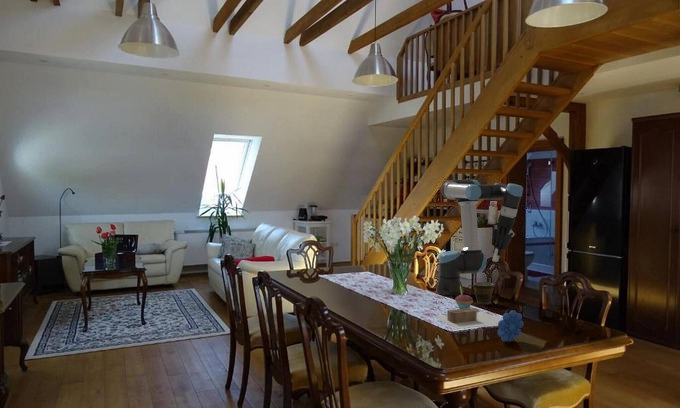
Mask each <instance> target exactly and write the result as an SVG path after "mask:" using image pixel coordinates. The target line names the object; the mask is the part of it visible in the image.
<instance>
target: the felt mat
mask: <svg viewBox="0 0 680 408" xmlns="http://www.w3.org/2000/svg"><path fill="white" fill-rule="evenodd" d="M434 318H435V319H437V320H439V321H441V322H443V323H445V324H446V325H449V326H451V327H453V328H455V329H457V330H459V329H466V328H476V327H483V326H486V327H487V326H491V325H492V326H495V325H498V323H499V321H501V320H503V318H502V319H501V318H499V317H496V316H494V315H491V314H489V313H486V312H484V311H477V321H470V322H461V323H452V322H450V321H448V320H447V315H446V314H445V315H441V316H440V315H439V316H434Z"/></svg>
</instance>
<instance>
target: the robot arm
mask: <svg viewBox="0 0 680 408" xmlns="http://www.w3.org/2000/svg"><path fill="white" fill-rule="evenodd" d="M523 191H524V187H523V186H522V185H519V184H516V183H508V184H507V185H506V184H505V183H501V182H496V183H494V184H481V183H480V182H479V180H477V179H468V178H467V179H450V180H447V181H444V183H442V185H441V188H440V192H441V195H442V196H443V198H445V199H447V200H455V201H457V204H458V205H459V206H460V214H461V215H460V216H461V217H460V218H461V231H462V248H461V249H460V251H459V250H449V251H443V252H441V253H440V254H439V255H438V281H437V284H436V288H435V293H436V294H438V295H442V296H459V295H461V291H460V286H461V289H462V295H464V287H463V283H462V282H461V275H464V274H480V273H482V272H484V270H486V267H487V263H488V262H487V256H486V254H485V253H484V252H482V251H483V250H482V248H480V247H479V246H480V245H479V231H478V229H479V228H478V217H477V215H478V214H477V204H478V203H479V200H482V201H483V200H484V201H485V200H487V201H489V200H490V201H491V200H501V201H502V204H501V209H500V211H499V213H500V214H499V215H498V218H497V223H496V224H495V225H491V228H492V235H491V237H492V238H491V245H492V246H494V247H493V252H492V253H493V255H492V256H493V257H492V259H491V260H492V262H495V263H496V262H499V260H500V257H501V256H502V253H503V250H505V251H506V250H507V249H508V247H509V246H510V244H511V241H512V240H513V238H514V237H515V236H516V232H514V231H513V226H514V224H515V221H516V217H517V214H518V210H519V206H520V203H521V199H522V197H523V193H524V192H523Z"/></svg>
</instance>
